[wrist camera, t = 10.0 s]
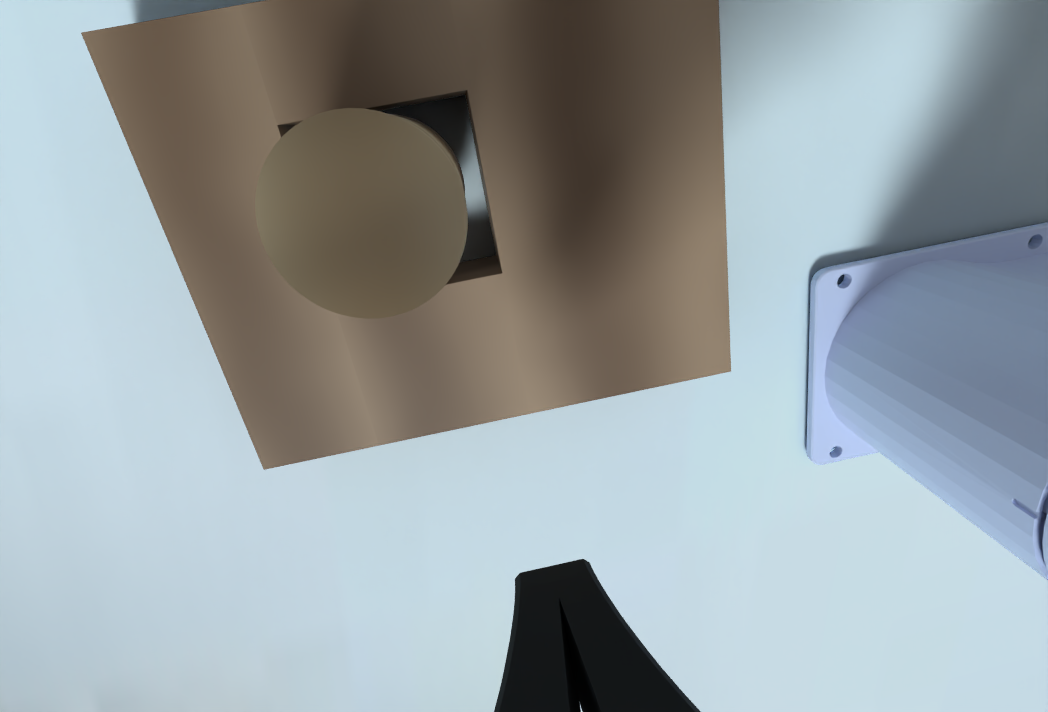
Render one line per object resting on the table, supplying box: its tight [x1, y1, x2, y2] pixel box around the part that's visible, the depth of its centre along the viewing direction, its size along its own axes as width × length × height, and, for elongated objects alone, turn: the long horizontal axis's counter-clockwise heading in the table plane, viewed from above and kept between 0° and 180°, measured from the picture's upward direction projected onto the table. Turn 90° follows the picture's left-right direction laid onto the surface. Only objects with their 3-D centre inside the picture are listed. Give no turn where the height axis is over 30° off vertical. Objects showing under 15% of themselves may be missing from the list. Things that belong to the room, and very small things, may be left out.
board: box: [81, 0, 731, 470], centre depth 17 cm, size 15×12×2 cm
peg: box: [255, 108, 468, 319], centre depth 14 cm, size 4×4×8 cm
